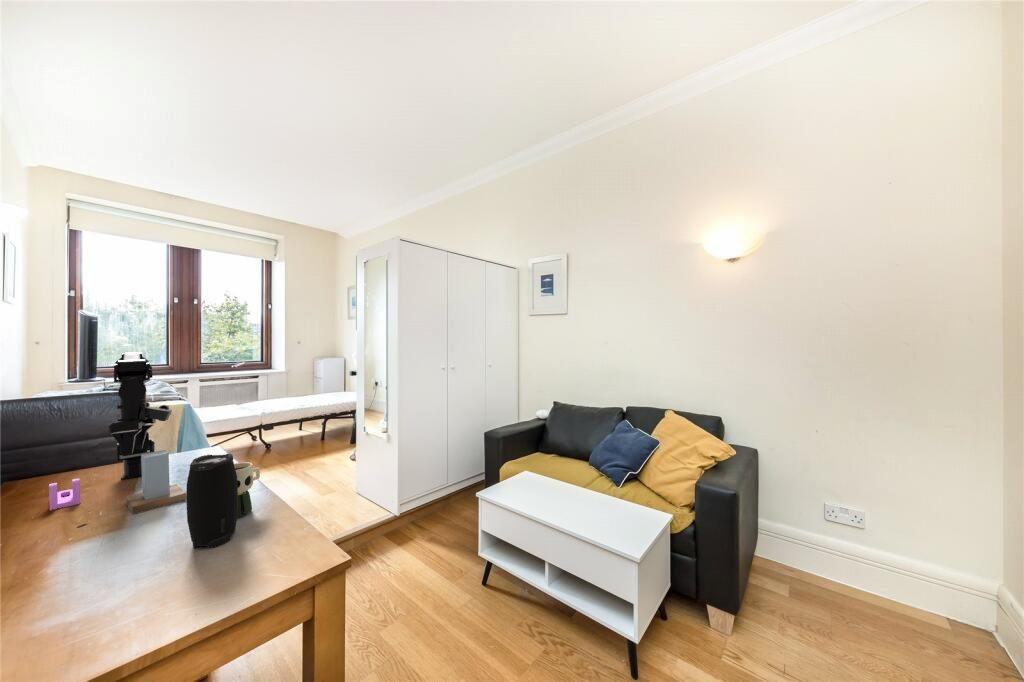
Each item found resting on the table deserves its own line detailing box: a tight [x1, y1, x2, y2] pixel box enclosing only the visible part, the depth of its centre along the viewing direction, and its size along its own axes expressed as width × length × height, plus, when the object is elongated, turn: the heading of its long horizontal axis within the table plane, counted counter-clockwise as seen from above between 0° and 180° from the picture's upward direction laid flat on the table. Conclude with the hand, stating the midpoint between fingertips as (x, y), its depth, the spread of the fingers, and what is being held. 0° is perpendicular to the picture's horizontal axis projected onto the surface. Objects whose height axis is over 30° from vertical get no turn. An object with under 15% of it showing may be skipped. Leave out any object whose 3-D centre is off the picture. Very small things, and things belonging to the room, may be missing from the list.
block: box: [141, 449, 171, 500], centre depth 108 cm, size 5×5×12 cm
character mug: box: [234, 461, 261, 518], centre depth 100 cm, size 11×7×13 cm, turn 146°
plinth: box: [125, 483, 186, 515], centre depth 108 cm, size 11×11×2 cm
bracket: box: [48, 477, 82, 511], centre depth 109 cm, size 13×6×7 cm, turn 50°
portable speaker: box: [185, 453, 238, 549], centre depth 87 cm, size 9×9×20 cm
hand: (134, 451), depth 114 cm, fingers open, 9 cm apart
